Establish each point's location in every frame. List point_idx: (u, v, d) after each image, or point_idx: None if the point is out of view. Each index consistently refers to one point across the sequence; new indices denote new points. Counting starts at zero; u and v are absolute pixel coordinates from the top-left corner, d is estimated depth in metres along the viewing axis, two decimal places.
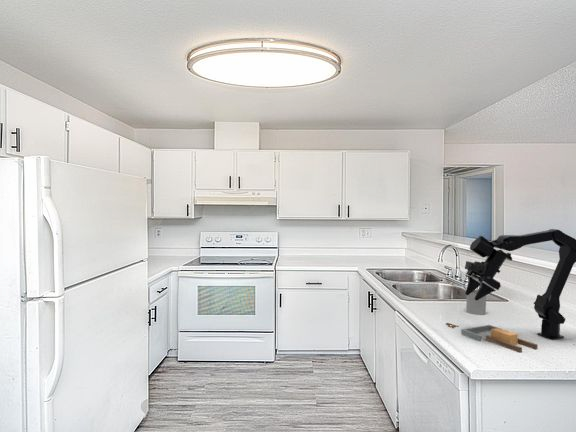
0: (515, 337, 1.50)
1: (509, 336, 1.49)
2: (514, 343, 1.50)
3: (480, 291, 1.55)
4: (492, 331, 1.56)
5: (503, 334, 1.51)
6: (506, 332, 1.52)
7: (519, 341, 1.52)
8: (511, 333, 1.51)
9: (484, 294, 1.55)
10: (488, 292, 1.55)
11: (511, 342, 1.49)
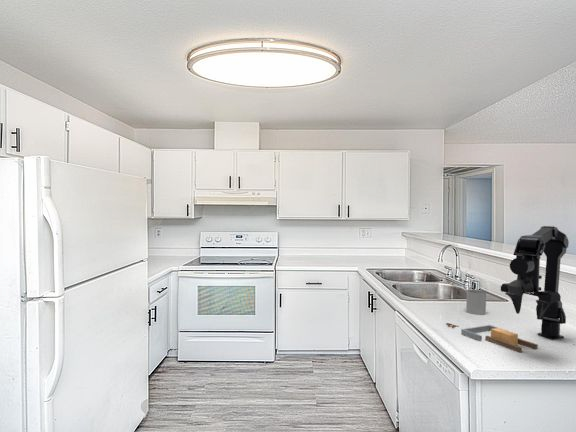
0: (515, 337, 1.50)
1: (509, 336, 1.49)
2: (514, 343, 1.50)
3: (541, 309, 1.39)
4: (492, 331, 1.56)
5: (503, 334, 1.51)
6: (506, 332, 1.52)
7: (519, 341, 1.52)
8: (511, 333, 1.51)
9: (545, 309, 1.40)
10: (547, 305, 1.40)
11: (511, 342, 1.49)
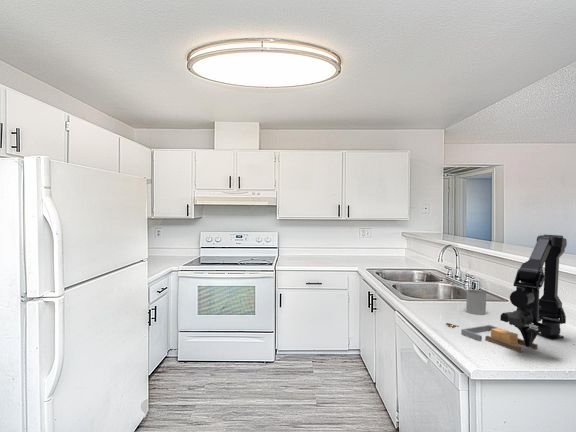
0: (515, 337, 1.50)
1: (509, 336, 1.49)
2: (514, 343, 1.50)
3: (530, 338, 1.43)
4: (492, 331, 1.56)
5: (503, 334, 1.51)
6: (506, 332, 1.52)
7: (519, 341, 1.52)
8: (511, 333, 1.51)
9: (534, 337, 1.44)
10: (536, 334, 1.44)
11: (511, 342, 1.49)
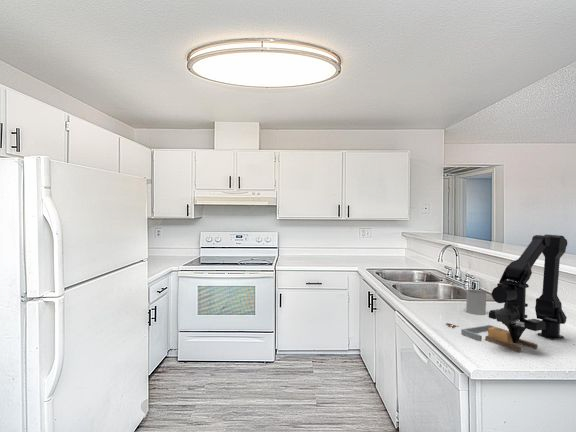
0: None
1: (506, 335, 1.50)
2: (511, 342, 1.51)
3: (517, 334, 1.48)
4: (489, 330, 1.57)
5: (500, 333, 1.52)
6: (503, 331, 1.53)
7: (519, 341, 1.52)
8: (508, 332, 1.52)
9: (520, 334, 1.48)
10: (523, 330, 1.48)
11: (508, 341, 1.50)
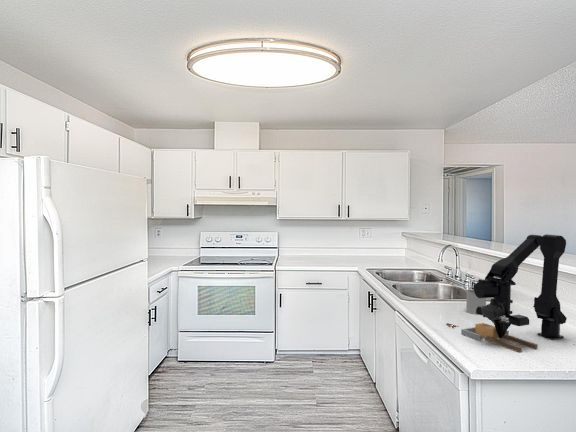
0: None
1: (492, 330, 1.56)
2: (497, 337, 1.56)
3: (502, 329, 1.53)
4: (476, 326, 1.62)
5: (486, 328, 1.58)
6: (489, 326, 1.59)
7: (519, 341, 1.52)
8: (494, 327, 1.58)
9: (506, 329, 1.54)
10: (508, 325, 1.54)
11: (494, 336, 1.56)
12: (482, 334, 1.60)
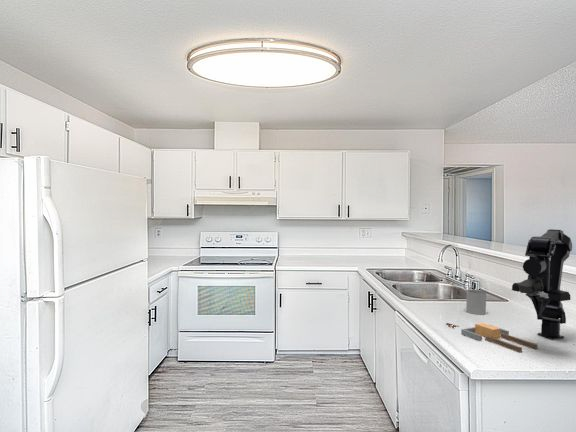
0: (497, 331, 1.57)
1: (492, 330, 1.56)
2: (497, 337, 1.57)
3: (541, 305, 1.47)
4: (476, 326, 1.62)
5: (486, 328, 1.58)
6: (489, 326, 1.59)
7: (519, 341, 1.52)
8: (494, 327, 1.58)
9: (545, 305, 1.48)
10: (547, 302, 1.47)
11: (494, 336, 1.56)
12: (482, 334, 1.60)
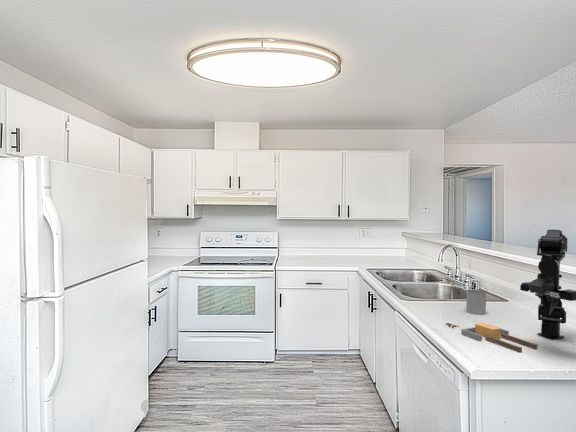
0: (497, 331, 1.57)
1: (492, 330, 1.56)
2: (497, 337, 1.57)
3: (551, 305, 1.45)
4: (476, 326, 1.62)
5: (486, 328, 1.58)
6: (489, 326, 1.59)
7: (519, 341, 1.52)
8: (494, 327, 1.58)
9: (554, 305, 1.46)
10: (557, 301, 1.46)
11: (494, 336, 1.56)
12: (482, 334, 1.60)
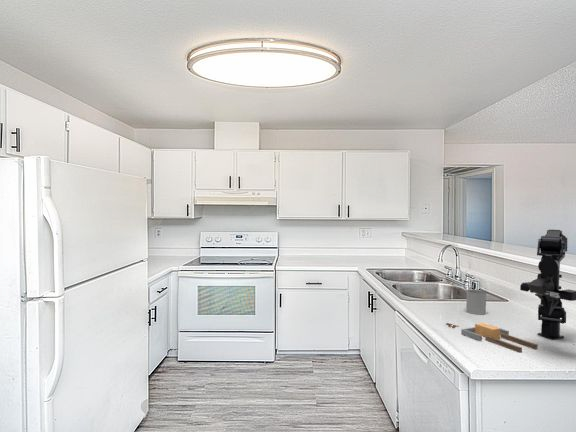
0: (497, 331, 1.57)
1: (492, 330, 1.56)
2: (496, 337, 1.57)
3: (551, 305, 1.45)
4: (476, 326, 1.62)
5: (486, 328, 1.58)
6: (489, 326, 1.59)
7: (519, 341, 1.52)
8: (494, 327, 1.58)
9: (554, 305, 1.46)
10: (557, 301, 1.46)
11: (494, 336, 1.56)
12: (482, 334, 1.60)
